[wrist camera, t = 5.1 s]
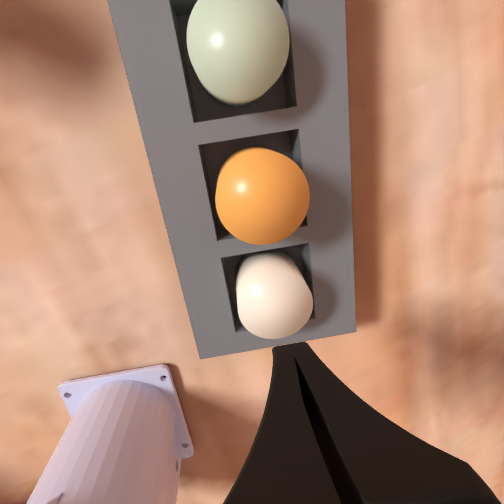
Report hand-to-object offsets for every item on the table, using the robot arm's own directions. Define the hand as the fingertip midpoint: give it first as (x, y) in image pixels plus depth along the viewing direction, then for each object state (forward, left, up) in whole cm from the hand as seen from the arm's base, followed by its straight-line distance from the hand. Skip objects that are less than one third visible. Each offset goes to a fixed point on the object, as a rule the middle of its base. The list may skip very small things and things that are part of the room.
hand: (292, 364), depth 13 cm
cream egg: (0, 0, -8) cm, 8 cm away
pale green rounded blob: (+12, 0, -8) cm, 15 cm away
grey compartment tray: (+6, 0, -9) cm, 11 cm away
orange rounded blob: (+6, 0, -7) cm, 9 cm away
